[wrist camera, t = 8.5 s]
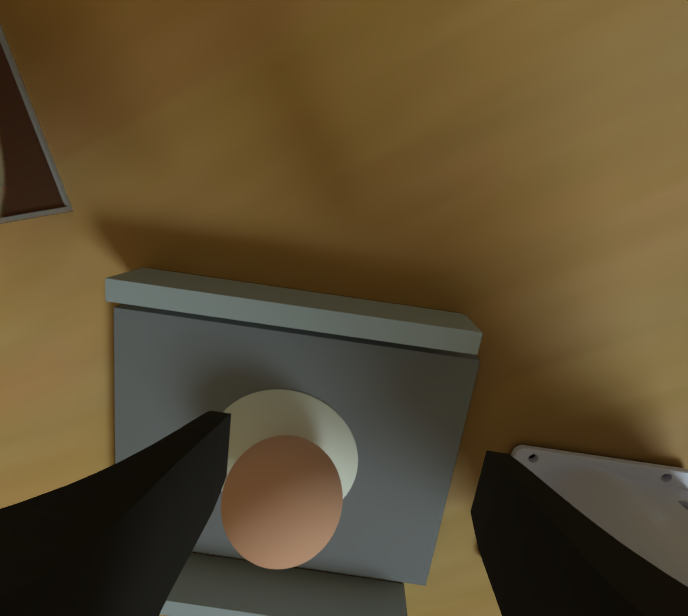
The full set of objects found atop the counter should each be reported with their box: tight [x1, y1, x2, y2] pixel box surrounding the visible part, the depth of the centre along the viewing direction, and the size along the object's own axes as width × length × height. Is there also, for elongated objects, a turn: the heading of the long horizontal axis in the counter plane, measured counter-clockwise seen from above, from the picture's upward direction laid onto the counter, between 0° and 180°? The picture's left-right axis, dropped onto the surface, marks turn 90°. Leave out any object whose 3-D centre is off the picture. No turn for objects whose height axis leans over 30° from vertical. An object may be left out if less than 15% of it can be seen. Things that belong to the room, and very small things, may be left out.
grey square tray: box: [105, 268, 483, 616], centre depth 20 cm, size 16×18×3 cm
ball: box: [221, 435, 343, 569], centre depth 18 cm, size 6×6×6 cm
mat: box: [114, 304, 480, 586], centre depth 21 cm, size 18×14×1 cm
